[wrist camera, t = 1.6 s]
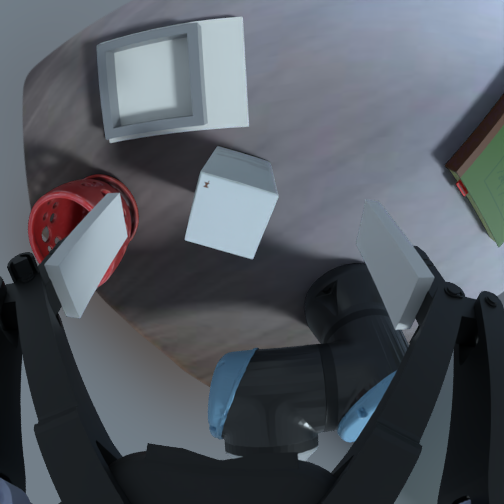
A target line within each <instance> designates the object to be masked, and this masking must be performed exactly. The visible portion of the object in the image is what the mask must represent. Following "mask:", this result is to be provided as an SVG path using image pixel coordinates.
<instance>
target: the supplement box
mask: <svg viewBox="0 0 504 504" xmlns="http://www.w3.org/2000/svg"><path fill="white" fill-rule="evenodd" d="M278 197H279V195H278V192H277V189H276V184H275V180H274V175H273V171H272V167H271V163H270V162H269V161H266V160H263V159H260V158H257V157H254V156H251V155H247V154H244V153H241V152H237V151H234V150H230V149H227V148H223V147H220V146H217V147H216V149H215V150H214V152H213V153H212V155H211V156H210V158H209V159H208V161H207V162H206V164H205V165H204V167H203V169H202V170H201V172H200V175H199V179H198V182H197V186H196V190H195V194H194V198H193V203H192V207H191V212H190V216H189V221H188V225H187V230H186V235H185V240H186V241H189V242H193V243H196V244H200V245H203V246H207V247H210V248H214V249H217V250H221V251H225V252H228V253H232V254H235V255H239V256H242V257H246V258H249V259H253V258H254V256H255V253H256V250H257V248H258V245H259V243H260V240H261V238H262V236H263V233H264V231H265V228H266V226H267V224H268V221H269V219H270V216H271V214H272V212H273V209H274V207H275V204H276V202H277V199H278Z"/></svg>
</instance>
